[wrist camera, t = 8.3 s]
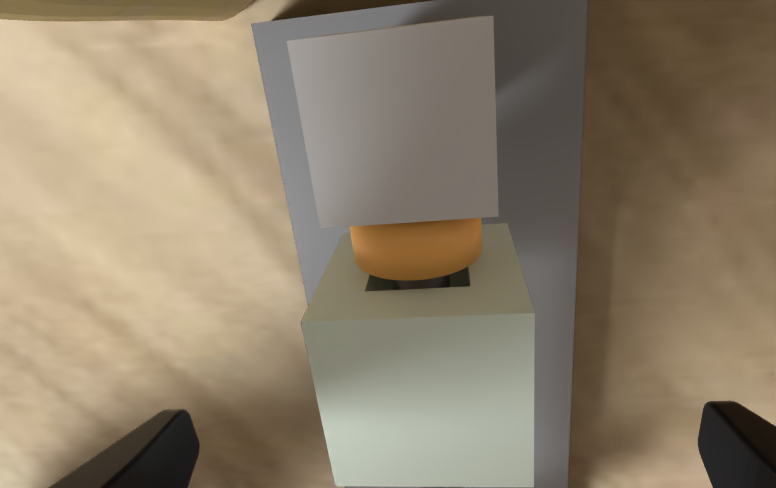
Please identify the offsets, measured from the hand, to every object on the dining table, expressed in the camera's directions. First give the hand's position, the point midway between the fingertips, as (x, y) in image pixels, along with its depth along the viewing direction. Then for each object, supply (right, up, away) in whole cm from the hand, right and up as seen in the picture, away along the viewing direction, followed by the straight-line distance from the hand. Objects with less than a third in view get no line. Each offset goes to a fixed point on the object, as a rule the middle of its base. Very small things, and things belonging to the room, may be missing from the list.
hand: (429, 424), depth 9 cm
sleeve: (0, +2, +4) cm, 5 cm away
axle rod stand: (+1, 0, +10) cm, 10 cm away
